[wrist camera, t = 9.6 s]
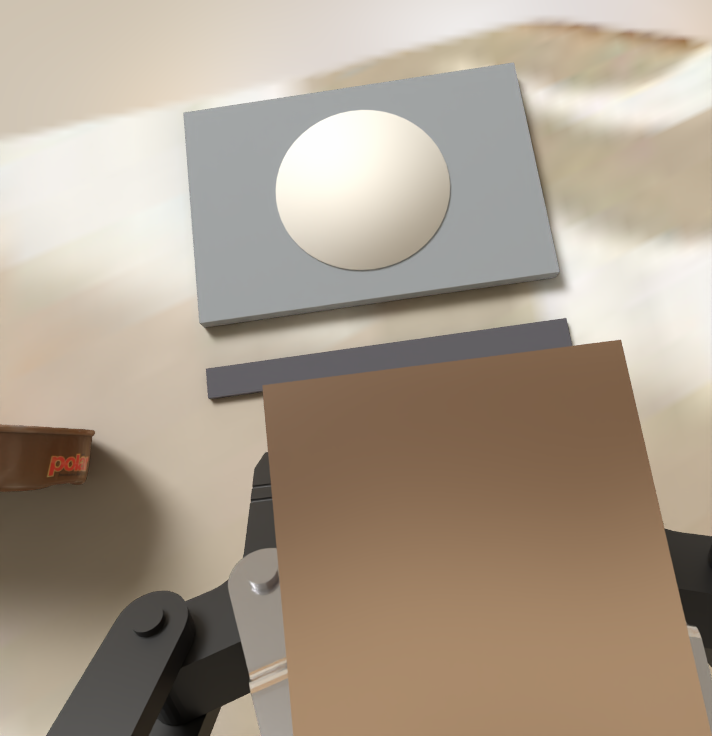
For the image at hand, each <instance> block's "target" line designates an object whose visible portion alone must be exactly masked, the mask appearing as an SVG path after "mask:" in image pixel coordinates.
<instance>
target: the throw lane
mask: <svg viewBox="0 0 712 736" xmlns="http://www.w3.org/2000/svg"><path fill="white" fill-rule="evenodd" d="M184 126H185V139H186V153H187V166H188V179H189V192H190V205H191V218H192V231H193V244H194V257H195V270H196V284H197V297H198V310H199V323H200V324H201V325H202V326H203V327H204V328H205V327H212V326H219V325H226V324H233V323H240V322H247V321H254V320H261V319H268V318H275V317H282V316H289V315H296V314H303V313H310V312H317V311H324V310H331V309H338V308H345V307H352V306H359V305H366V304H373V303H380V302H387V301H394V300H401V299H408V298H415V297H422V296H429V295H436V294H443V293H450V292H457V291H464V290H471V289H478V288H485V287H492V286H499V285H506V284H513V283H520V282H528V281H535V280H542V279H549V278H555V277H556V276H557V275H558V273H559V272H560V271H559V266H558V261H557V257H556V252H555V248H554V243H553V239H552V234H551V230H550V225H549V220H548V216H547V211H546V207H545V202H544V198H543V193H542V188H541V184H540V179H539V175H538V170H537V166H536V161H535V157H534V152H533V147H532V143H531V138H530V134H529V129H528V125H527V120H526V115H525V111H524V106H523V102H522V97H521V93H520V88H519V84H518V79H517V74H516V70H515V65H514V63H508V64H501V65H494V66H488V67H481V68H475V69H468V70H462V71H455V72H448V73H442V74H435V75H429V76H422V77H415V78H409V79H402V80H396V81H389V82H383V83H376V84H369V85H363V86H356V87H350V88H343V89H336V90H330V91H323V92H317V93H310V94H304V95H297V96H290V97H284V98H277V99H271V100H264V101H257V102H251V103H244V104H238V105H231V106H225V107H218V108H211V109H205V110H198V111H192V112H185V113H184ZM568 346H572V343H571V338H570V333H569V329H568V324H567V320H566V318H564V319H557V320H550V321H543V322H535V323H528V324H521V325H514V326H507V327H500V328H493V329H486V330H479V331H471V332H464V333H457V334H450V335H443V336H436V337H429V338H422V339H415V340H407V341H400V342H393V343H386V344H379V345H372V346H365V347H358V348H350V349H343V350H336V351H329V352H322V353H315V354H308V355H301V356H294V357H286V358H279V359H272V360H265V361H258V362H251V363H244V364H237V365H230V366H222V367H215V368H208V369H206V376H207V389H208V398H209V399H215V398H222V397H229V396H237V395H244V394H251V393H258V392H263V388H262V385H269V384H277V383H284V382H292V381H300V380H308V379H316V378H324V377H332V376H340V375H348V374H355V373H363V372H371V371H379V370H387V369H395V368H403V367H411V366H419V365H426V364H434V363H442V362H450V361H458V360H466V359H474V358H482V357H490V356H497V355H505V354H513V353H521V352H529V351H537V350H545V349H553V348H561V347H568Z"/></svg>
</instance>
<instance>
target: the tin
mask: <svg viewBox="0 0 712 736" xmlns="http://www.w3.org/2000/svg"><path fill="white" fill-rule="evenodd" d="M94 434H95V431H94V430H85V429H68V428H51V427H37V426H22V425H0V492H11V491H28V490H36V489H41V488H45V487H48V486H51V485H56V484H66V483H70V484H74V485H81V484H83V483H84V482H85V481H86V478H87V473H88V468H89V460H90V450H91V441H92V436H93V435H94Z"/></svg>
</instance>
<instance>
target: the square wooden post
mask: <svg viewBox="0 0 712 736" xmlns="http://www.w3.org/2000/svg"><path fill="white" fill-rule="evenodd" d="M262 388H263V399H264V410H265V422H266V433H267V444H268V456H269V467H270V478H271V490H272V501H273V512H274V524H275V535H276V546H277V558H278V569H279V580H280V592H281V603H282V614H283V626H284V637H285V648H286V660H287V671H288V682H289V693H290V705H291V716H292V727H293V736H712V734H711V730H710V726H709V721H708V717H707V713H706V708H705V704H704V699H703V695H702V691H701V686H700V682H699V678H698V673H697V669H696V665H695V660H694V656H693V652H692V647H691V643H690V638H689V634H688V630H687V625H686V621H685V617H684V612H683V608H682V604H681V599H680V595H679V591H678V586H677V582H676V578H675V573H674V569H673V564H672V560H671V556H670V551H669V547H668V543H667V538H666V534H665V530H664V525H663V521H662V517H661V512H660V508H659V503H658V499H657V495H656V490H655V486H654V482H653V477H652V473H651V469H650V464H649V460H648V456H647V451H646V447H645V442H644V438H643V434H642V429H641V425H640V421H639V416H638V412H637V408H636V403H635V399H634V395H633V390H632V386H631V381H630V377H629V373H628V368H627V364H626V360H625V355H624V351H623V347H622V342H621V340H616V341H608V342H600V343H592V344H584V345H576V346H568V347H561V348H553V349H545V350H537V351H529V352H521V353H513V354H505V355H497V356H490V357H482V358H474V359H466V360H458V361H450V362H442V363H434V364H426V365H419V366H411V367H403V368H395V369H387V370H379V371H371V372H363V373H355V374H348V375H340V376H332V377H324V378H316V379H308V380H300V381H292V382H284V383H277V384H269V385H262Z"/></svg>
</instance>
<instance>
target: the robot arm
mask: <svg viewBox="0 0 712 736" xmlns="http://www.w3.org/2000/svg"><path fill="white" fill-rule="evenodd" d="M252 486H253V489H252V493H251V503H250V509H249V517H248V525H247V533H246V541H245V549H244V555H243V559H241V560H240V561H239V562H238V563H237V564H236V565H235V567H234V568H233V570H232V572H231V574H230V576H229V579H228V580H227V581H226V582H225V583H223V584H222V585H220V586H219V587H217V588H215V589H213V590H211V591H209V592H207V593H204V594H202V595H199V596H197V597H195V598H192V599H190V600H188V601H184V599H183V598H182V597H181V596H179V595H178V594H176V593H174V592H170V591H156V592H152V593H148V594H146V595H143V596H141V597H140V598H138V599H136V600H135V601H133V602H132V603H130V604H129V605H128V606H127V607H126V608H125V609H124V610H123V611H122V612H121V613H120V615H119V616H118V618H117V619H116V621H115V623H114V624H113V626H112V627H111V629H110V631H109V632H108V634H107V636H106V637H105V639H104V641H103V642H102V644H101V646H100V647H99V649H98V651H97V652H96V654H95V656H94V657H93V659H92V661H91V662H90V664H89V666H88V667H87V669H86V670H85V672H84V674H83V675H82V677H81V679H80V680H79V682H78V684H77V685H76V687H75V689H74V690H73V692H72V694H71V695H70V697H69V699H68V700H67V702H66V704H65V705H64V707H63V709H62V710H61V712H60V714H59V715H58V717H57V718H56V720H55V722H54V723H53V725H52V727H51V728H50V730H49V732H48V733H47V735H46V736H210V734H211V732H212V729H213V727H214V724H215V722H216V719H217V716H218V714H219V711H220V709H221V706H223V705H225V704H227V703H229V702H231V701H234V700H236V699H238V698H240V697H242V696H244V695H246V694H248V693H250V692H251V696H252V700H253V704H254V708H255V712H256V717H257V721H258V725H259V729H260V733H261V736H293V727H292V716H291V705H290V693H289V682H288V671H287V660H286V648H285V637H284V626H283V614H282V603H281V592H280V580H279V569H278V558H277V546H276V535H275V524H274V512H273V501H272V490H271V478H270V467H269V456H268V452H266V453H265V454H264V455H263V457H262V458H261V460H260V461H259V463H258V464H257V466H256V467H255V469H254V477H253V485H252ZM664 530H665V534H666V538H667V543H668V547H669V551H670V556H671V560H672V564H673V569H674V573H675V578H676V582H677V586H678V591H679V595H680V599H681V604H682V608H683V612H684V617H685V621H686V625H687V630H688V634H689V638H690V643H691V647H692V652H693V656H694V660H695V665H696V669H697V673H698V678H699V682H700V686H701V691H702V695H703V699H704V704H705V708H706V713H707V717H708V721H709V726H710V730H711V734H712V678H711V674H710V670H709V666H708V664H709V665H710V666H711V667H712V536H705V535H697V534H689V533H682V532H676V531H671V530H668V529H664Z"/></svg>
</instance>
